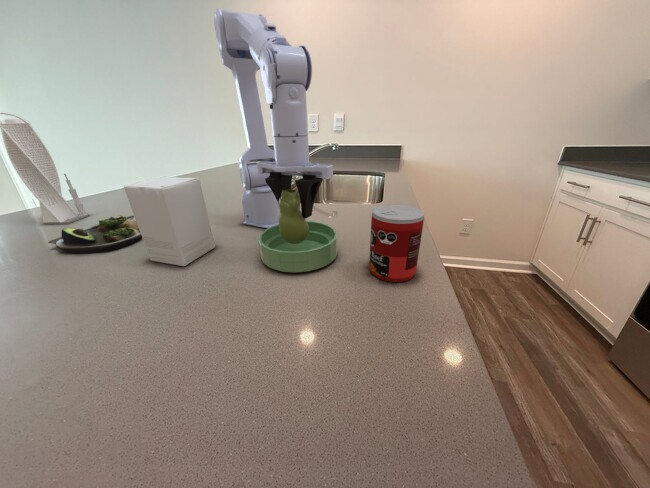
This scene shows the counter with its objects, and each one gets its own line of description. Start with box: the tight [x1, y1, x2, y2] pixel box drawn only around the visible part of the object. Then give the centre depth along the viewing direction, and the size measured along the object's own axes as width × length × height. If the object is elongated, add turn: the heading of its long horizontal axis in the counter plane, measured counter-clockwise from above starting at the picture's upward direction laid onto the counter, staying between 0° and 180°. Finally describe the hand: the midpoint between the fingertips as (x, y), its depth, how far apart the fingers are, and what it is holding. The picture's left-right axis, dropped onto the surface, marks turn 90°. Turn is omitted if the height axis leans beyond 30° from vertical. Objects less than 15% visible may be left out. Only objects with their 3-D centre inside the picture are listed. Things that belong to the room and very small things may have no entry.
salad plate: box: [47, 214, 142, 254], centre depth 62 cm, size 19×18×5 cm
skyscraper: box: [0, 111, 90, 225], centre depth 68 cm, size 8×8×28 cm
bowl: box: [258, 220, 339, 273], centre depth 51 cm, size 15×15×4 cm
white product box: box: [123, 176, 216, 267], centre depth 50 cm, size 9×9×15 cm
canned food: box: [368, 204, 425, 283], centre depth 43 cm, size 8×8×11 cm
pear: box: [279, 188, 309, 244], centre depth 46 cm, size 6×5×10 cm
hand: (296, 215), depth 48 cm, fingers closed on pear, 4 cm apart
